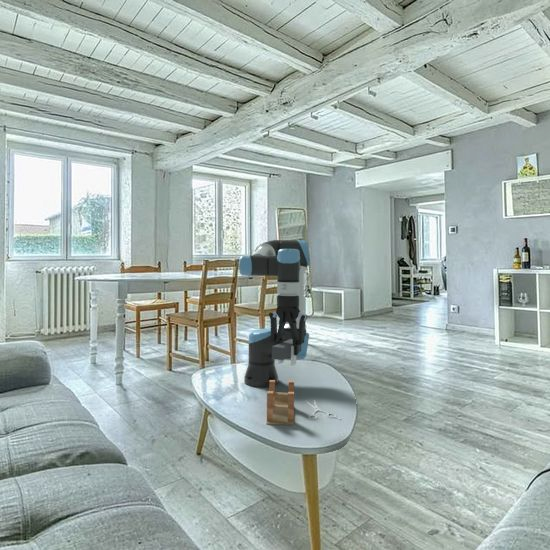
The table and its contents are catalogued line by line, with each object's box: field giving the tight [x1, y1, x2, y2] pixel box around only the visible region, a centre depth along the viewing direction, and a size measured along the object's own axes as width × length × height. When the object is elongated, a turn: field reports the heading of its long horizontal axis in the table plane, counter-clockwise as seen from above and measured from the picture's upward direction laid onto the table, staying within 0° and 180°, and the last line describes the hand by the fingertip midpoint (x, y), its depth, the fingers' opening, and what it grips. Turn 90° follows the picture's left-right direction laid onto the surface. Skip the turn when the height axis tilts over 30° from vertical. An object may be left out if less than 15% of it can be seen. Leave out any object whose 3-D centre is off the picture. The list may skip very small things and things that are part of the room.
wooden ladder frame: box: [265, 380, 295, 426], centre depth 134 cm, size 16×9×10 cm, turn 177°
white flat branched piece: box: [305, 399, 342, 421], centre depth 140 cm, size 11×1×20 cm
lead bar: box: [272, 339, 301, 361], centre depth 130 cm, size 15×4×4 cm, turn 153°
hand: (287, 363), depth 130 cm, fingers closed on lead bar, 4 cm apart
